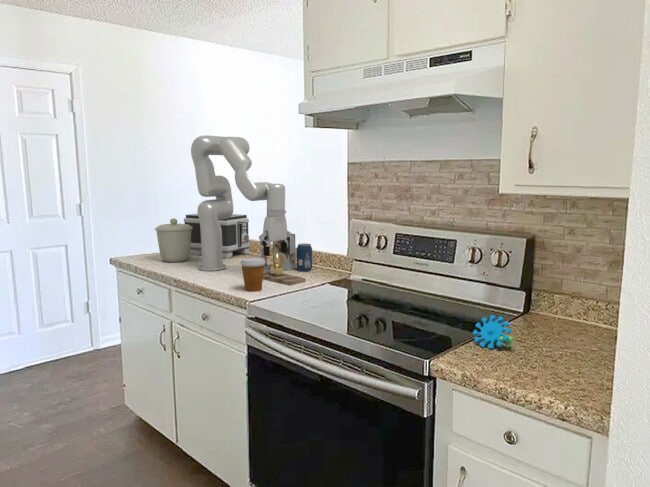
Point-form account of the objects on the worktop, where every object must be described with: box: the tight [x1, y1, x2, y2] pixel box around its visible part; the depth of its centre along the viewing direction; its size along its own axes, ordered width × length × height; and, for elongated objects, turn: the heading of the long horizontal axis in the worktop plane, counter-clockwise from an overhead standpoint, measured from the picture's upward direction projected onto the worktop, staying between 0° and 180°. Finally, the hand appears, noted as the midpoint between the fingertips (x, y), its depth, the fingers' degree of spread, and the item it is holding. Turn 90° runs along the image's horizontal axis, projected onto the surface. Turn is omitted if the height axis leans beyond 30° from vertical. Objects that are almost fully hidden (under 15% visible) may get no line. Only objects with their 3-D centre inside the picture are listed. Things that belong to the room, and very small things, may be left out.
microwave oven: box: [183, 213, 251, 260], centre depth 272 cm, size 18×34×21 cm, turn 60°
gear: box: [472, 314, 515, 350], centre depth 137 cm, size 11×6×10 cm
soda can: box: [296, 243, 313, 273], centre depth 231 cm, size 7×7×12 cm
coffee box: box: [272, 233, 297, 271], centre depth 235 cm, size 9×6×16 cm
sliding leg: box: [269, 253, 284, 276], centre depth 214 cm, size 4×6×9 cm, turn 137°
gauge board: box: [260, 247, 306, 286], centre depth 214 cm, size 24×9×12 cm, turn 47°
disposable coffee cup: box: [239, 256, 265, 293], centre depth 196 cm, size 10×10×12 cm
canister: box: [154, 217, 193, 263], centre depth 253 cm, size 18×18×21 cm
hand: (275, 254), depth 215 cm, fingers open, 9 cm apart
